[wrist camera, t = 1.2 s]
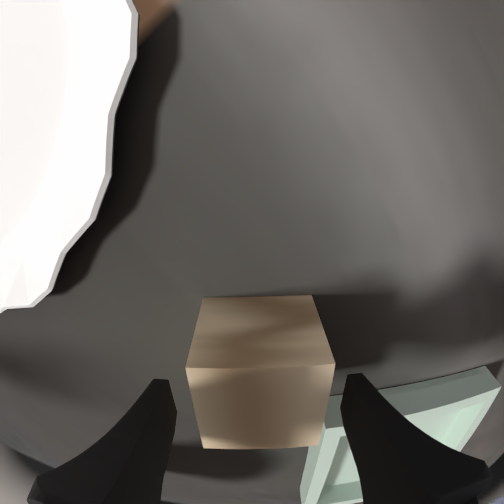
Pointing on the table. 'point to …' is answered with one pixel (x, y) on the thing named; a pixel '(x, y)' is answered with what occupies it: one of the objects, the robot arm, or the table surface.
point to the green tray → (412, 408)
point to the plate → (56, 130)
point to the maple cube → (259, 372)
